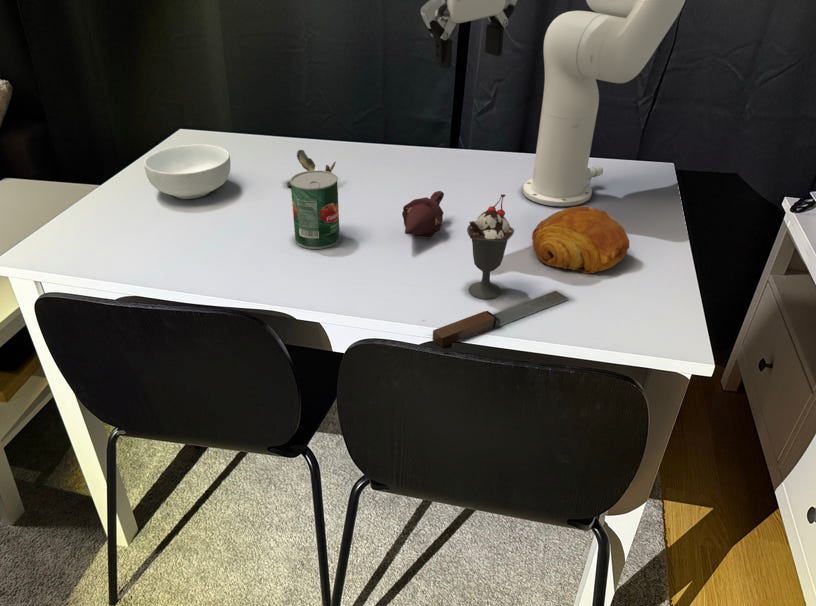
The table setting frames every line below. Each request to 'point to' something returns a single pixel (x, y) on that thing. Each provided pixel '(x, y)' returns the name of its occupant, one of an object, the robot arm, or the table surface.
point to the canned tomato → (315, 209)
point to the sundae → (488, 248)
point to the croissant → (580, 240)
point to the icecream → (424, 216)
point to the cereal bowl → (188, 170)
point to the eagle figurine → (309, 163)
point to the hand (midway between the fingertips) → (468, 60)
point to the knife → (493, 319)
